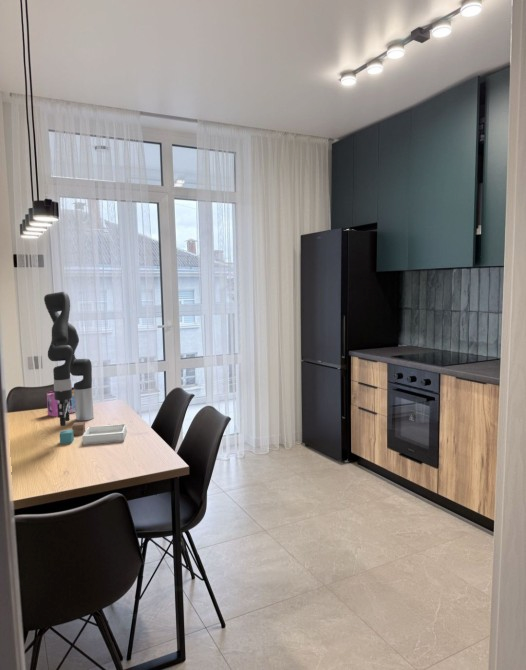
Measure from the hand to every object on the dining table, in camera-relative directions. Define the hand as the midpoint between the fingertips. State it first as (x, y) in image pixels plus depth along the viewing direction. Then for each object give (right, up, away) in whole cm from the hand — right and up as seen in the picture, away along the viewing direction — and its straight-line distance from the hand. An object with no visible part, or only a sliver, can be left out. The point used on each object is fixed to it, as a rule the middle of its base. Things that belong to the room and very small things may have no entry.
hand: (65, 423), depth 218 cm
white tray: (+17, -8, +5) cm, 19 cm away
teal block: (+1, -9, +1) cm, 9 cm away
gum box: (-22, -5, +59) cm, 64 cm away
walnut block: (+1, -8, +14) cm, 16 cm away
